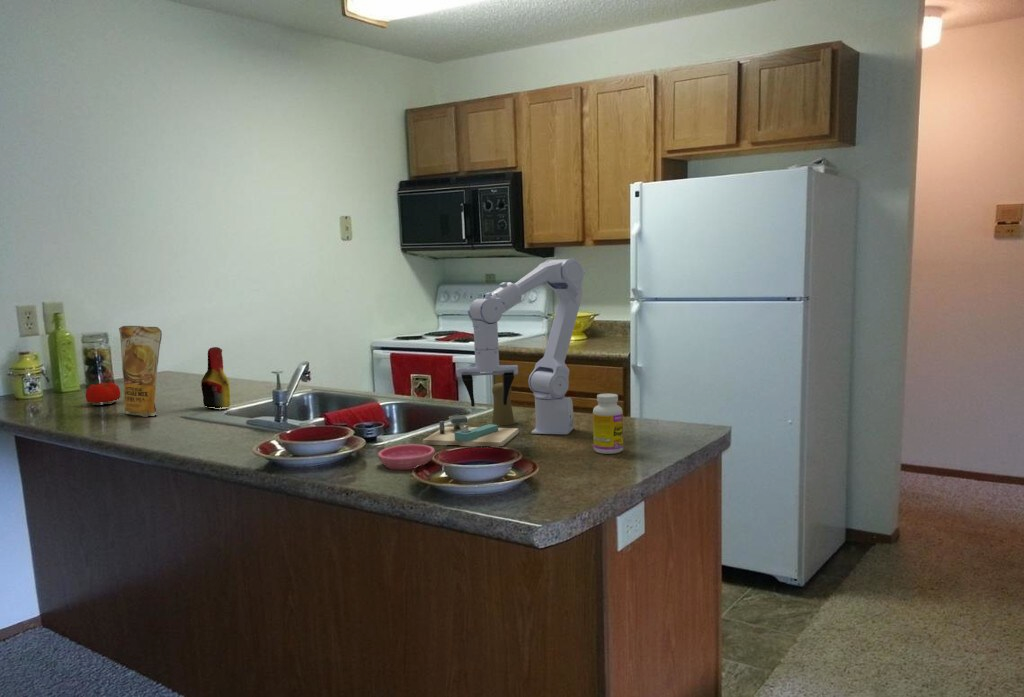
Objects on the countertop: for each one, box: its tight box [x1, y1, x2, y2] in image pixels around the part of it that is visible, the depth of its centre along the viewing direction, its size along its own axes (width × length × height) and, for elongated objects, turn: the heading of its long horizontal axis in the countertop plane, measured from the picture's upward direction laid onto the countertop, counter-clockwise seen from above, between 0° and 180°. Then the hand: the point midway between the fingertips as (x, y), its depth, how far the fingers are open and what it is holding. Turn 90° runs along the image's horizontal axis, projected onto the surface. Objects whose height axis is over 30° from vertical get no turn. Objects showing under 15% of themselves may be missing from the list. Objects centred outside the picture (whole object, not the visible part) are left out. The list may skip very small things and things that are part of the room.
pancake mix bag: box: [118, 325, 163, 413], centre depth 239 cm, size 7×19×28 cm, turn 57°
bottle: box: [200, 346, 231, 408], centre depth 244 cm, size 12×6×20 cm, turn 52°
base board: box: [422, 426, 520, 447], centre depth 190 cm, size 20×15×1 cm
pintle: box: [461, 424, 469, 433], centre depth 184 cm, size 1×1×3 cm
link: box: [455, 423, 499, 441], centre depth 188 cm, size 13×4×2 cm, turn 144°
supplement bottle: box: [592, 393, 624, 455], centre depth 172 cm, size 7×7×13 cm
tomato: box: [85, 381, 121, 403], centre depth 262 cm, size 11×11×8 cm
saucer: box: [377, 443, 436, 471], centre depth 168 cm, size 12×12×3 cm
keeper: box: [438, 414, 468, 434], centre depth 194 cm, size 6×7×5 cm
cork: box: [491, 382, 515, 427], centre depth 206 cm, size 6×6×11 cm
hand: (488, 404), depth 183 cm, fingers open, 7 cm apart
